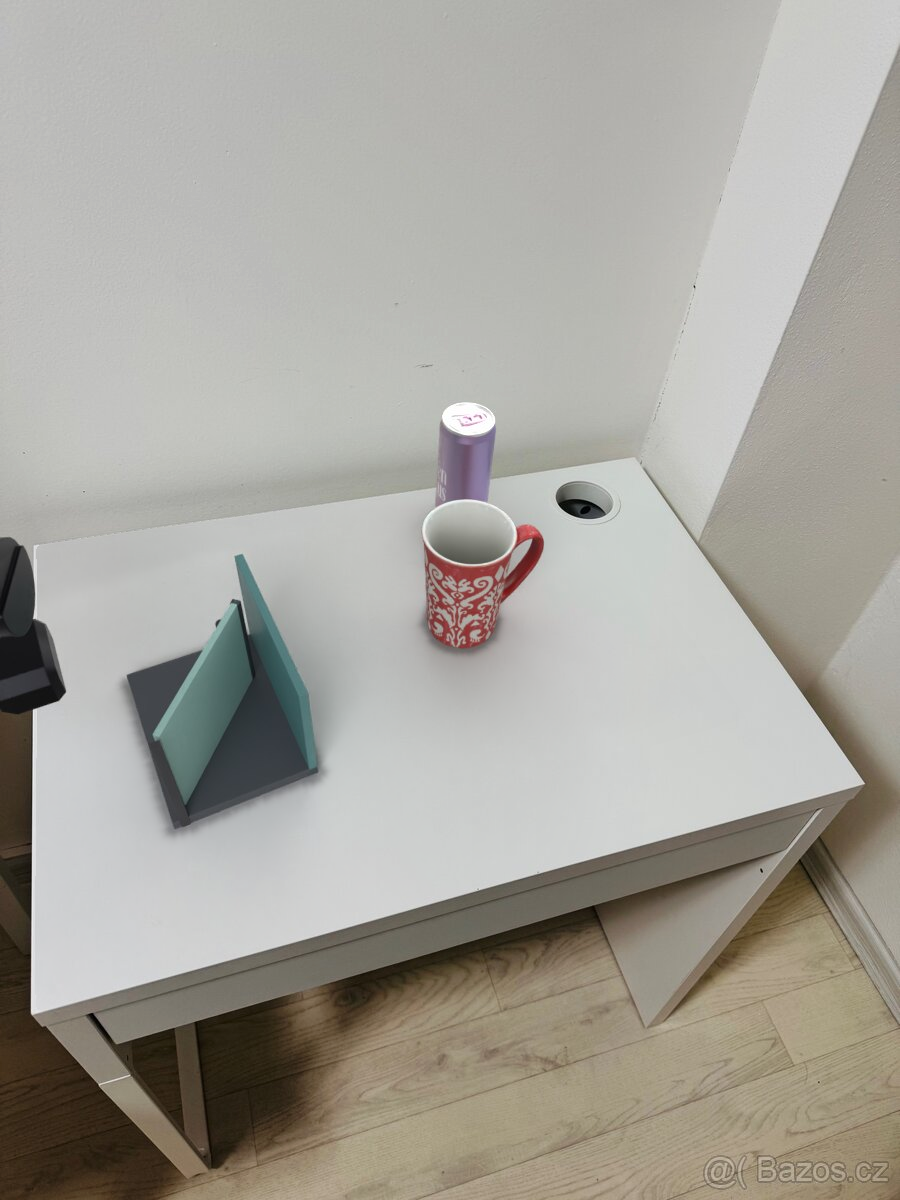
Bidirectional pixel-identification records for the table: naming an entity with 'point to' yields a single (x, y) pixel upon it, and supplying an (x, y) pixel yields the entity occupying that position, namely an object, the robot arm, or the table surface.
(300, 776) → the shower stall
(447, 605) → the mug
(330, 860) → the table surface
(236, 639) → the shower door
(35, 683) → the robot arm
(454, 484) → the beverage can
